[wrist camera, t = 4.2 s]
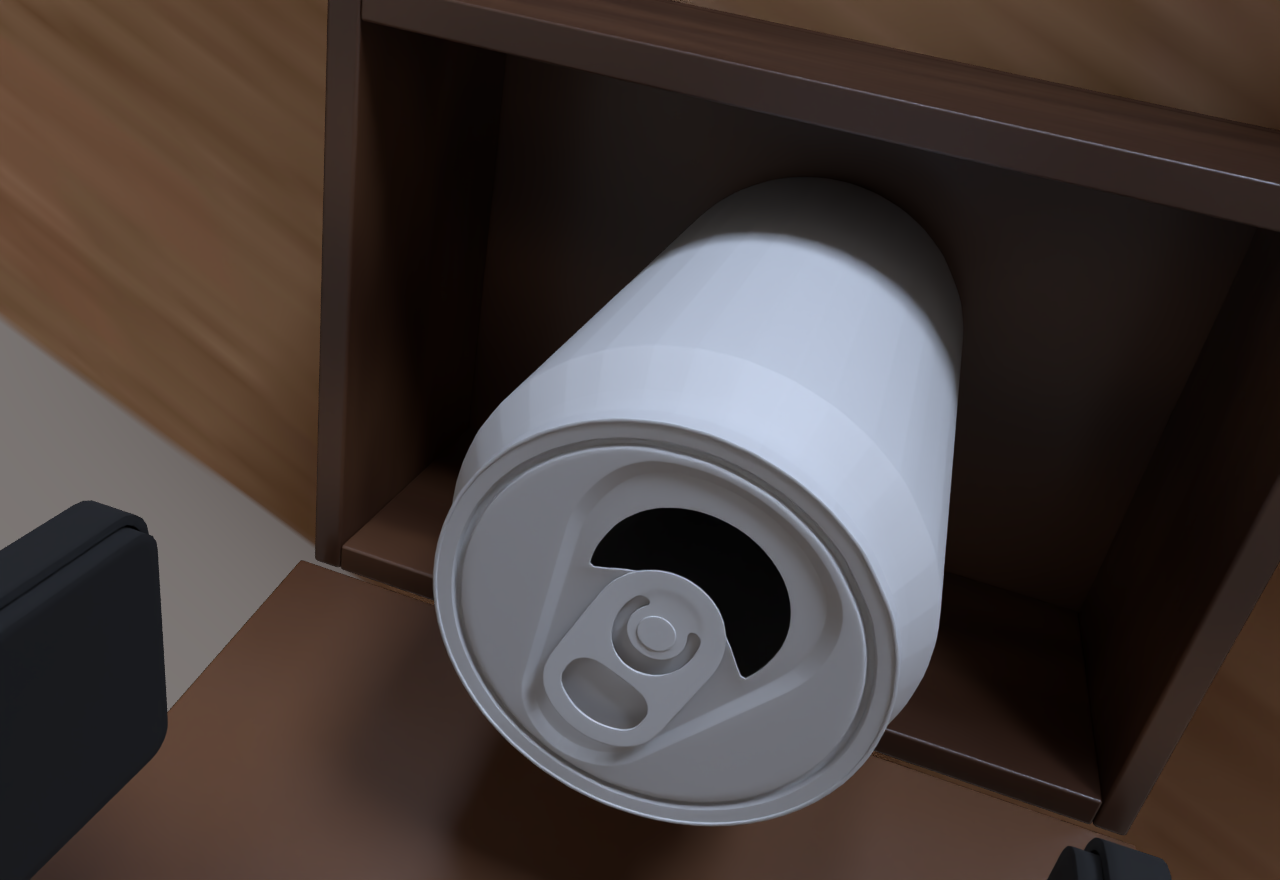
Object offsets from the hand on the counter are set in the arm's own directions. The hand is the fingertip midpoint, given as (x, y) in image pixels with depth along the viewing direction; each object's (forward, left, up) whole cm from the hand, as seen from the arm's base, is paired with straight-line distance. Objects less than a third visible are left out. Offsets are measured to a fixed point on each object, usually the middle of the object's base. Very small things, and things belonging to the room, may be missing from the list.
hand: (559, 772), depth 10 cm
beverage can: (0, 0, -14) cm, 14 cm away
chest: (0, 0, -15) cm, 15 cm away
